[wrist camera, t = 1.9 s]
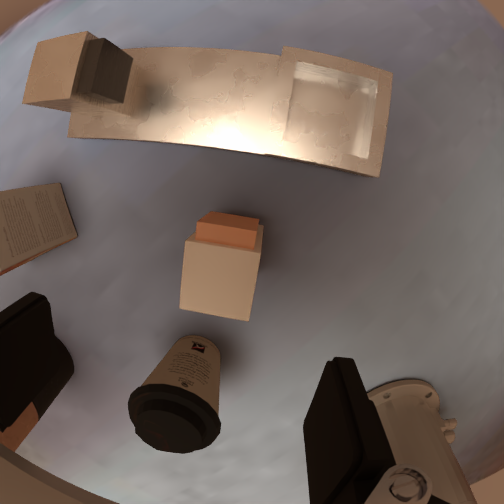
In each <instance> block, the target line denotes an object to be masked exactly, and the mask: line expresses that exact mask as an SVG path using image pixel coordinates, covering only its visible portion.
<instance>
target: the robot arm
mask: <svg viewBox="0 0 504 504" xmlns="http://www.w3.org/2000/svg"><path fill="white" fill-rule="evenodd" d="M59 368H60V360H59V355H58V350H57V345H56V340H55V334H54V328H53V322H52V315H51V307H50V303H49V302H48V300H47V298H46V297H45V296H44V295H41V294H38V293H35V292H30V293H28V294H27V295H25V296H24V297H22V298H21V299H19V300H18V301H16V302H15V303H13V304H12V305H10V306H9V307H7V308H6V309H4V310H3V311H1V312H0V431H1V432H2V433H3V432H4V431H5V429H6V428H7V427H11V426H12V425H13V423H14V422H15V421H16V420H17V418H18V417H19V416H20V415H21V414H22V412H23V411H24V410H25V409H26V408H27V407H28V405H29V404H30V403H31V402H32V401H33V399H34V398H35V397H36V396H37V395H38V394H39V392H40V391H41V390H42V389H43V388H44V387H45V386H46V384H47V383H48V382H49V381H50V380H51V379H52V378H53V377H54V375H55V374H56V373H57V372H58V371H59ZM439 408H440V400H439V396H438V394H437V392H436V391H435V389H434V388H433V387H432V386H431V385H430V384H428V383H426V382H424V381H420V380H401V381H396V382H393V383H389V384H386V385H384V386H381V387H379V388H376V389H374V390H373V391H371V392H369V393H366V390H365V387H364V385H363V382H362V380H361V377H360V374H359V372H358V369H357V367H356V364H355V362H354V360H353V359H352V358H343V357H334V358H333V360H332V361H327V363H326V365H325V368H324V371H323V373H322V376H321V379H320V381H319V384H318V387H317V389H316V392H315V395H314V397H313V400H312V402H311V405H310V407H309V410H308V412H307V415H306V417H305V420H304V425H303V432H304V442H305V452H306V463H307V474H308V485H309V497H310V504H477V501H476V499H475V498H474V495H473V493H472V491H471V488H470V486H469V484H468V482H467V480H466V478H465V476H464V474H463V471H462V469H461V467H460V465H459V463H458V461H457V459H456V457H455V455H454V453H453V451H452V449H451V447H450V445H449V444H451V443H452V442H453V441H454V439H455V433H454V431H453V430H450V429H455V428H456V426H457V420H456V419H455V418H454V419H446V420H443V419H442V418H441V416H440V415H439V413H438V411H439ZM444 430H445V431H444ZM0 504H119V503H116V502H114V501H111V500H108V499H106V498H103V497H101V496H98V495H96V494H93V493H91V492H88V491H86V490H84V489H82V488H79V487H77V486H75V485H73V484H71V483H69V482H67V481H65V480H63V479H61V478H59V477H57V476H55V475H53V474H51V473H49V472H47V471H45V470H43V469H42V468H40V467H38V466H36V465H35V464H33V463H31V462H29V461H28V460H26V459H24V458H23V457H21V456H20V455H18V454H16V453H15V452H13V451H12V450H10V449H9V448H7V447H6V446H4V445H3V444H1V443H0Z"/></svg>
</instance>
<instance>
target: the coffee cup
mask: <svg viewBox="0 0 504 504" xmlns="http://www.w3.org/2000/svg"><path fill="white" fill-rule="evenodd" d="M220 362H221V356H220V353H219V350H218V349H217V347H216V346H215V344H213V343H212V342H211V341H210V340H208V339H206V338H204V337H201V336H196V335H190V336H185V337H182V338H180V339H179V340H178V341H177V342H176V343H175V344H174V345H173V347H172V348H171V349H170V350H169V352H168V353H167V354H166V355H165V357H164V358H163V359H162V360H161V362H160V363H159V364H158V365H157V367H156V368H155V369H154V370H153V372H152V373H151V374H150V375H149V377H148V378H147V379H146V380H145V382H144V383H143V384H142V385H141V387H138V388H137V389H136V390H135V391H133V392H132V393H131V395H130V398H129V401H128V410H129V416H130V419H131V421H132V423H133V424H134V426H135V433H136V434H137V435H138V436H139V437H140V438H141V439H142V440H143V441H144V442H145V443H147V444H148V445H150V446H152V447H153V448H155V449H156V450H160V451H165V452H173V453H182V454H184V453H190V452H193V451H195V450H200V449H203V448H205V447H207V446H209V445H211V444H212V442H213V441H214V440H215V439H216V438H217V436H218V435H219V434H220V429H221V422H220V419H219V417H218V412H219V385H220Z"/></svg>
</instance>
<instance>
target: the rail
mask: <svg viewBox="0 0 504 504" xmlns="http://www.w3.org/2000/svg"><path fill="white" fill-rule="evenodd" d="M392 78H393V73H391V72H388V71H385V70H382V69H379V68H375V67H372V66H369V65H366V64H362V63H359V62H355V61H352V60H348V59H344V58H340V57H336V56H332V55H328V54H323V53H319V52H314V51H309V50H304V49H299V48H293V47H288V46H283V50H282V56H279V55H272V54H265V53H257V52H249V51H240V50H228V49H214V48H192V47H155V48H133V49H120V48H118V47H117V46H116V45H114V44H113V43H111V42H110V41H108V40H107V39H105V38H100V39H99V38H97V37H96V36H94V35H93V34H91V33H90V32H88V31H85V32H80V33H75V34H70V35H65V36H61V37H57V38H53V39H49V40H45V41H41V42H38V43H37V46H36V50H35V53H34V56H33V60H32V64H31V67H30V71H29V75H28V79H27V83H26V88H25V92H24V97H23V102H22V104H27V105H33V106H39V107H45V108H50V109H56V110H61V111H66V112H71V117H70V123H69V129H68V136H67V137H69V138H80V139H112V140H131V141H146V142H159V143H170V144H180V145H190V146H199V147H207V148H215V149H223V150H230V151H237V152H244V153H250V154H257V155H263V156H269V157H274V158H280V159H286V160H291V161H296V162H301V163H306V164H311V165H316V166H321V167H326V168H330V169H335V170H339V171H344V172H348V173H352V174H356V175H360V176H365V177H378V178H379V174H380V169H381V163H382V157H383V151H384V144H385V138H386V131H387V123H388V116H389V107H390V98H391V89H392Z"/></svg>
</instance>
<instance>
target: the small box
mask: <svg viewBox="0 0 504 504" xmlns="http://www.w3.org/2000/svg"><path fill="white" fill-rule="evenodd" d="M75 238H77V233H76V230H75V228H74V225H73V222H72V219H71V216H70V213H69V210H68V207H67V204H66V201H65V198H64V195H63V191H62V188H61V184H60V183H53V184H45V185H38V186H31V187H24V188H18V189H12V190H6V191H0V276H1V275H3V274H5V273H7V272H9V271H11V270H13V269H15V268H17V267H19V266H21V265H23V264H25V263H27V262H29V261H31V260H33V259H35V258H36V257H38V256H40V255H42V254H44V253H46V252H48V251H50V250H52V249H54V248H56V247H58V246H60V245H62V244H64V243H66V242H68V241H71V240H73V239H75Z"/></svg>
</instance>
